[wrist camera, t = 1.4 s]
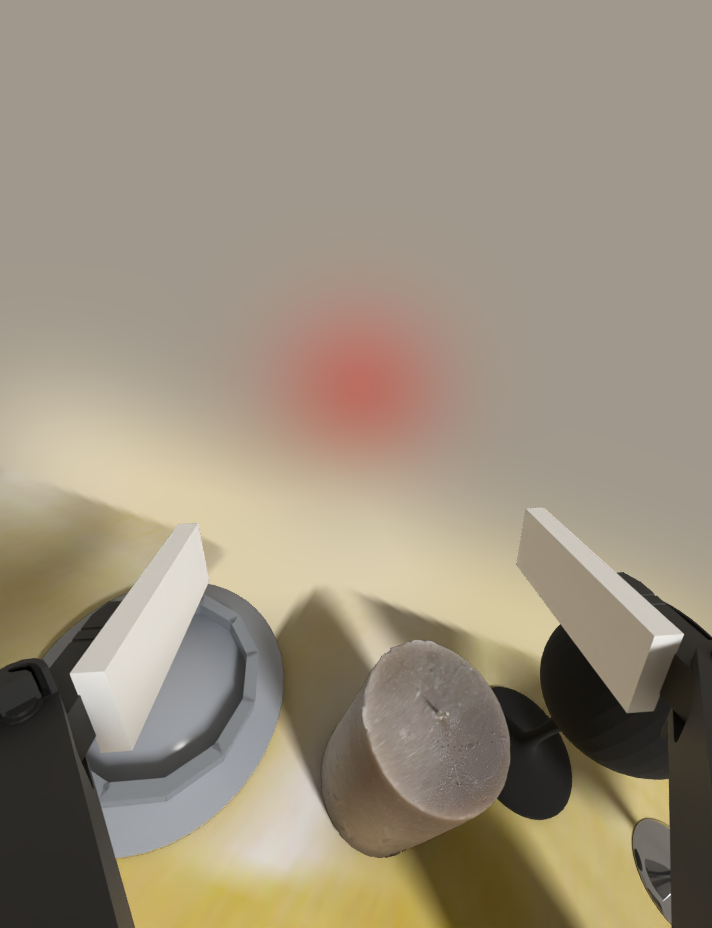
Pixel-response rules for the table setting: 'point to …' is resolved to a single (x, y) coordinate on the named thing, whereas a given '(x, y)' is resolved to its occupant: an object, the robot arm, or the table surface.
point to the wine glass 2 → (654, 861)
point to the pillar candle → (415, 751)
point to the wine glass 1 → (575, 731)
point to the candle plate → (192, 728)
